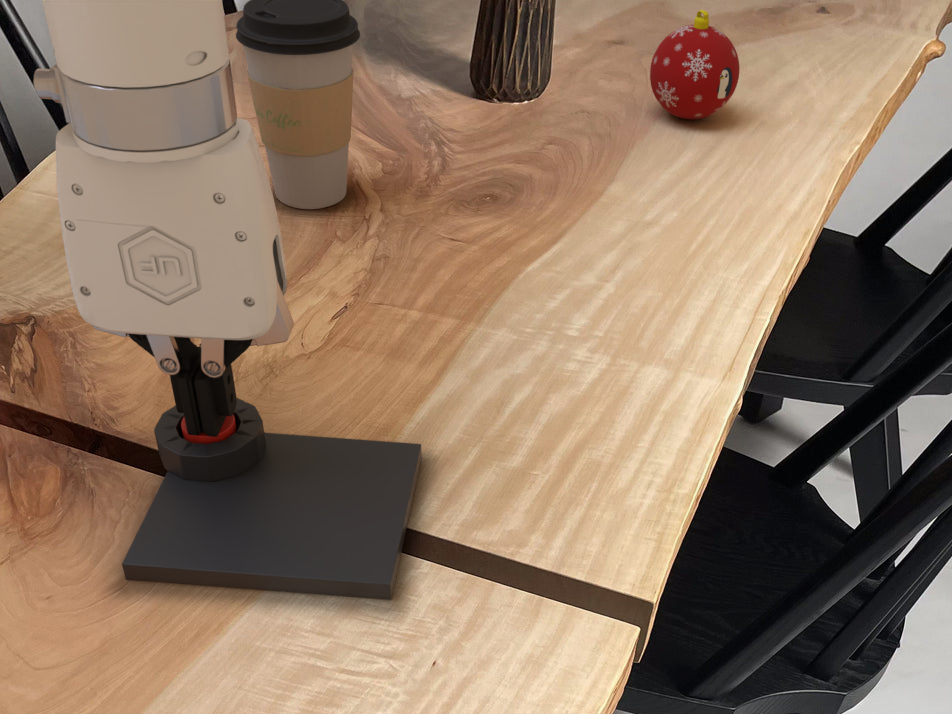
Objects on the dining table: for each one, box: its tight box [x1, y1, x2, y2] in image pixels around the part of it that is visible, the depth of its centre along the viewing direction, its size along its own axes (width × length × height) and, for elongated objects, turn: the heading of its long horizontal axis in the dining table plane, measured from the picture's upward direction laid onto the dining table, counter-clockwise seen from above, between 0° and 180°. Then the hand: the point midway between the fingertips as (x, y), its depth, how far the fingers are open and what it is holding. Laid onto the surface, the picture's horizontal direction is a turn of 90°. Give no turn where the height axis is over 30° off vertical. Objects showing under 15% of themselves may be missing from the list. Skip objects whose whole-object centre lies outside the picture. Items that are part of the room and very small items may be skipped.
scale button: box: [181, 415, 237, 444], centre depth 64 cm, size 3×3×2 cm
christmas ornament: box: [649, 9, 740, 120], centre depth 106 cm, size 9×9×10 cm
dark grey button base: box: [121, 396, 423, 601], centre depth 61 cm, size 15×13×3 cm
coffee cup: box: [235, 0, 361, 210], centre depth 88 cm, size 9×9×15 cm
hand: (210, 421), depth 63 cm, fingers closed
